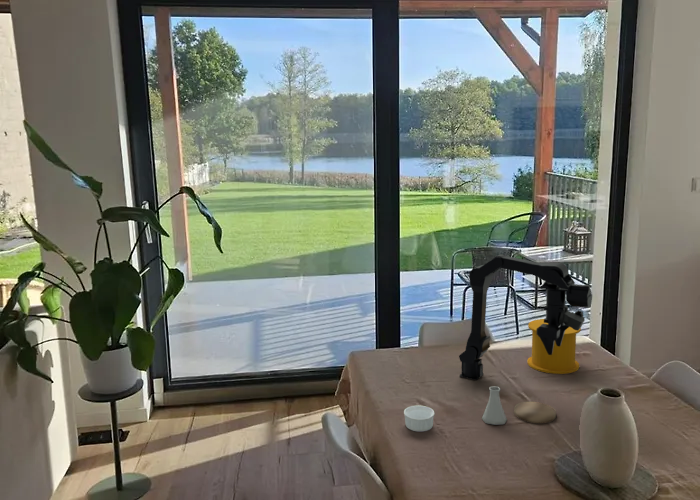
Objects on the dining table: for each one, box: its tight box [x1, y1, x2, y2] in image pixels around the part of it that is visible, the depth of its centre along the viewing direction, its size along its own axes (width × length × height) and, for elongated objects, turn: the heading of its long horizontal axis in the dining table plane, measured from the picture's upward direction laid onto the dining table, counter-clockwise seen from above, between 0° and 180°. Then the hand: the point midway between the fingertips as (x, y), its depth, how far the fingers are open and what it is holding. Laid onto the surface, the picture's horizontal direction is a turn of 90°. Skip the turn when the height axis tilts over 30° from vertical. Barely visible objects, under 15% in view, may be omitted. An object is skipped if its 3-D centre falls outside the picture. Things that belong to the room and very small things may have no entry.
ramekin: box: [403, 404, 435, 433], centre depth 169 cm, size 9×9×4 cm
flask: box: [481, 385, 508, 426], centre depth 171 cm, size 7×7×10 cm
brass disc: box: [513, 401, 557, 424], centre depth 174 cm, size 12×12×1 cm
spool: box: [526, 318, 582, 375], centre depth 211 cm, size 18×18×15 cm
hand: (554, 350), depth 185 cm, fingers open, 9 cm apart
